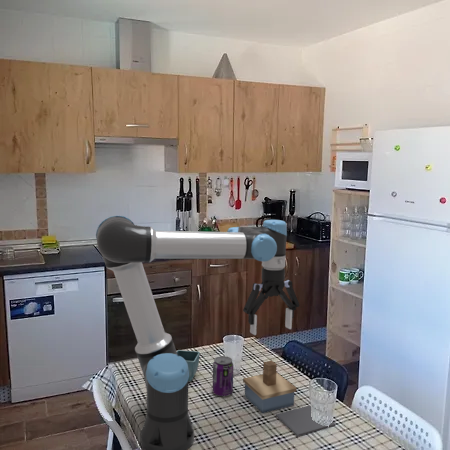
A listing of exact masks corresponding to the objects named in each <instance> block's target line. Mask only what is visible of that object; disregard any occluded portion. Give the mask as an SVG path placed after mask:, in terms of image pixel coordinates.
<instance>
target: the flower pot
mask: <svg viewBox="0 0 450 450" xmlns="http://www.w3.org/2000/svg"><path fill="white" fill-rule="evenodd" d="M176 352H177V355H178V356H181V357H183V358H184V359H185V360H186V362H187V364H188V370H189V378H188V383H191V382H192V381H193V380H194V377H195V375H196V373H197V371H198V368H199V365H200V364H199V363H200V362H199V361H200V355H201V352H200V351H197V350H196V351H193V350H181V349H178V350H176Z"/></svg>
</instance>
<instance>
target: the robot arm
mask: <svg viewBox="0 0 450 450" xmlns="http://www.w3.org/2000/svg"><path fill="white" fill-rule="evenodd" d="M287 231H288V230H287V223H286V221H284V220H280V219H266V220H264V221H263V224H262V226H235V227H229V228H228V229H227V230H226V231H196V230H195V231H193V230H191V231H187V230H185V231H184V230H183V231H182V230H155V229H154V228H153V227H152V226H145V225H143V226H141V225H137V224H135V223H134V222H133V221H132V220H131V219H130V218H128V217H126V216H123V215H112V216H108V217H106V218H105V219H104V220H102V221H101V222H100V223H99V225H98V227H97V229H96V234H95V237H96V238H95V239H96V245H97V248H98V251H99V253H100V255H101V257H102V259H103V262H104V263H105V264H104V265H105V267H106V269H108V270H110V271H112V272H113V274H114V277H115V280H116V283H117V286H118V289H119V292H120V294H121V297H122V300H123V303H124V306H125V310H126V312H127V316H128V318H129V321H130V323H131V327H132V329H133V333H134V335H135V339H136V341H137V344H136V345H135V347H134V351H135V354H136V357H137V359H138V362H139V363H138V364H139V365H140V368H141V371H142V374H143V375H142V376H143V380H144V384H145V389H146V416H145V418H144V419H145V420H144V422H143V425H142V428H141V431H140V445H141V447H142V449H144V450H188V449H189V448H191V447H192V445H193V444H194V441H195V429H194V426H193V423H192V421H191V418H190V414H189V382H188V378H189V370H188V364H187V362H186V360H185V359H184V358H183V357H181V356H178V355H177V350H176V345H175V343H174V341H173V338H172V335H171V334H170V333H167V332H166V331H165V329H164V326H163V323H162V319H161V317H160V314H159V311H158V308H157V304H156V302H155V298H154V297H153V296H154V295H153V292H152V289H151V287H150V283H149V279H148V277H147V273H146V271H145V269H144V265H143V263H152V261H154V260H155V259H159V260H160V259H165V260H166V259H168V260H169V259H177V260H178V259H180V260H181V259H183V260H184V259H191V260H192V259H203V260H204V259H208V260H209V259H210V260H211V259H223V260H224V259H226V260H227V259H235V260H236V259H238V260H239V259H240V260H241V259H244V260H247V259H248V260H250V259H251V260H256V261H258V262H261V267H262V268H261V282H260V283H256V282H254V283H252V289H251V292H250V294H249V297H248V298H247V301H246V302H245V305H244V307H243V311H242V312H244V313H245V314H247V315H248V321H247V322H248V324H249V332H250V334H252V335H254V336H256V335H257V328H258V327H257V325H258V315H257V314H256V313H257V312H258V310H259V309H260V307H262V305H263V303H264V302H266V300H267V299H268V298H270V297H271V298H272V297H278V296H279V297H280V298H281V300H282V301H283V302H284V304H285V305H286V306H287V307H286V308H285V319H284V321H285V322H284V324H285V325H284V326H285V328H286V329H288V330H292V327H293V326H292V325H293V324H292V323H293V319H294V318H295V317H294V316H295V311H296V310H297V308H299V307H300V302H299V299H298V297H297V296H296V295H297V294H296V292H295V291H294V288H293V281H292V280H289V279H286V269H285V267H286V252H287V236H288V232H287ZM284 288H286V292H287V294H288V295H287V294H286V293H285V290H283V289H284ZM288 296H289V297H288Z"/></svg>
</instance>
